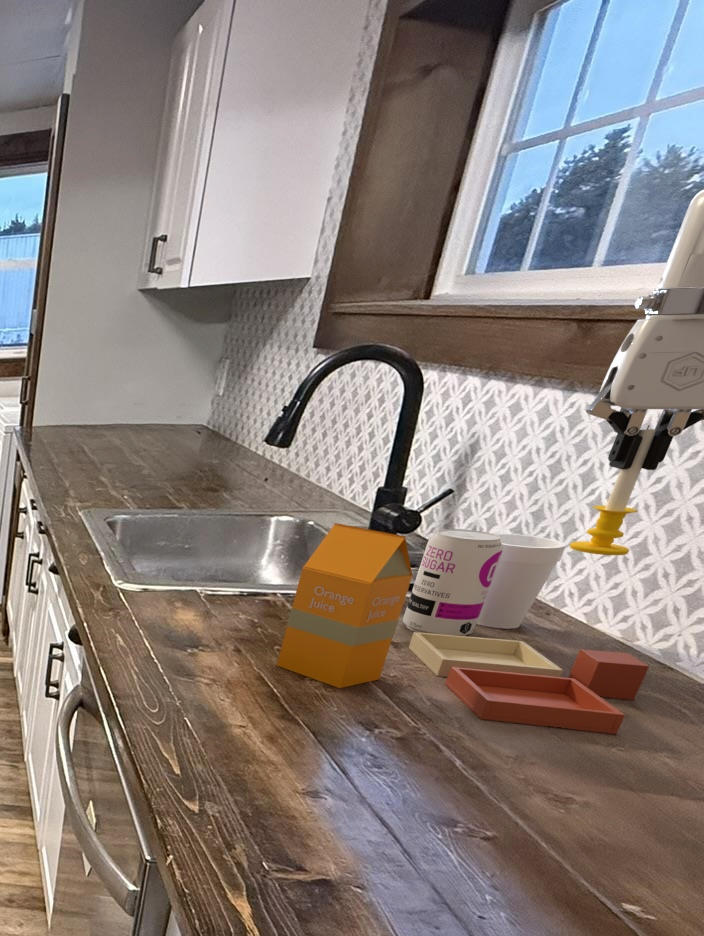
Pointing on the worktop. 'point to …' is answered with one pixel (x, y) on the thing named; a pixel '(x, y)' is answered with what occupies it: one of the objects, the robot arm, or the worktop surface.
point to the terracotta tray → (533, 700)
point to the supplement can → (453, 582)
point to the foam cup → (518, 578)
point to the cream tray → (479, 655)
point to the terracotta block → (609, 673)
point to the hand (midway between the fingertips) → (632, 467)
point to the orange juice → (347, 606)
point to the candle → (616, 506)
